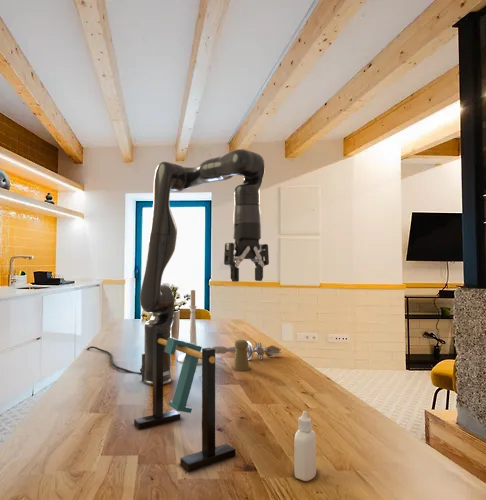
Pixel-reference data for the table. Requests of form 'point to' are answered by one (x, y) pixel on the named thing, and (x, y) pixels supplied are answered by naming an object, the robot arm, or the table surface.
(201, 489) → the table surface
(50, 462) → the table surface
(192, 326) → the candlestick
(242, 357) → the cork
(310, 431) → the eye dropper bottle
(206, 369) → the rack
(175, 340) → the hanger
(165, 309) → the robot arm
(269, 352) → the ornate silver scepter
